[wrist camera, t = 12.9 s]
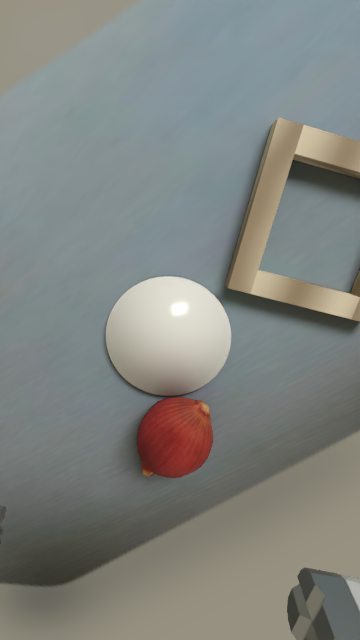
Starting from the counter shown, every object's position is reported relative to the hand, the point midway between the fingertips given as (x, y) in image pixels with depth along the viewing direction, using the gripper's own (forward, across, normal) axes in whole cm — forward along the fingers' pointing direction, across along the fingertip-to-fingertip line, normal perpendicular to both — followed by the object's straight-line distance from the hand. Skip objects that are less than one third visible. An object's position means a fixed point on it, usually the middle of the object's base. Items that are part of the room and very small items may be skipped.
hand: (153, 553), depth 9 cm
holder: (+19, -9, -11) cm, 23 cm away
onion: (+16, -4, +4) cm, 17 cm away
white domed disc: (+19, 0, 0) cm, 19 cm away
